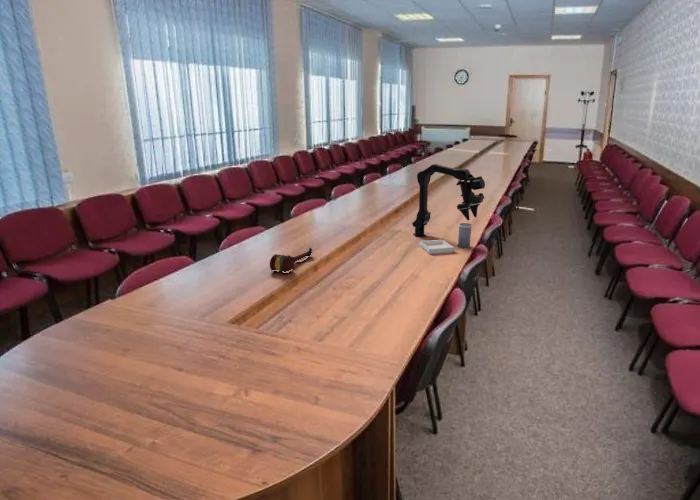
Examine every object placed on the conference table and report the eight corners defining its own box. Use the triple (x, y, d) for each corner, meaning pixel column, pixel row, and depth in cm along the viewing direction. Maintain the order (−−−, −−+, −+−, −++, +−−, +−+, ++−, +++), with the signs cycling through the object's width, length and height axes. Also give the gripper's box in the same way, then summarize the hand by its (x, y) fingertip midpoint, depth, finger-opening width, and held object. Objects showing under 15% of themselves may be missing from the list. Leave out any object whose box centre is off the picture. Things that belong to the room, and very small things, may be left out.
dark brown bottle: (302, 260, 260) (318, 262, 256) (265, 274, 229) (283, 277, 225) (302, 241, 258) (318, 243, 254) (265, 254, 227) (283, 256, 223)
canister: (455, 245, 274) (457, 223, 270) (466, 244, 275) (468, 222, 271) (460, 248, 267) (462, 226, 264) (472, 248, 269) (473, 225, 265)
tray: (419, 246, 273) (419, 241, 272) (442, 244, 276) (442, 239, 275) (429, 254, 258) (429, 249, 257) (453, 252, 261) (454, 247, 260)
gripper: (472, 191, 257) (478, 219, 258) (487, 186, 270) (492, 213, 272) (454, 195, 264) (459, 222, 266) (469, 190, 278) (474, 216, 280)
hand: (472, 218), depth 271 cm, fingers open, 9 cm apart
